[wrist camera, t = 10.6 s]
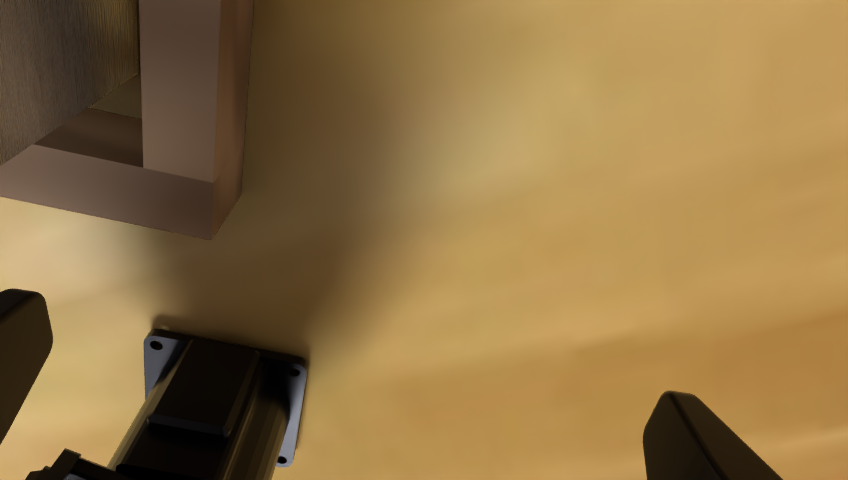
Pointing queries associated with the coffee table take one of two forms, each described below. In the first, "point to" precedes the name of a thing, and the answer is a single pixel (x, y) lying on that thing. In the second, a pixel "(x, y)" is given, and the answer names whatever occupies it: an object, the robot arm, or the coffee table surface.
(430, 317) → the coffee table surface
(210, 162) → the well block
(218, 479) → the robot arm
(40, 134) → the rectangular block
